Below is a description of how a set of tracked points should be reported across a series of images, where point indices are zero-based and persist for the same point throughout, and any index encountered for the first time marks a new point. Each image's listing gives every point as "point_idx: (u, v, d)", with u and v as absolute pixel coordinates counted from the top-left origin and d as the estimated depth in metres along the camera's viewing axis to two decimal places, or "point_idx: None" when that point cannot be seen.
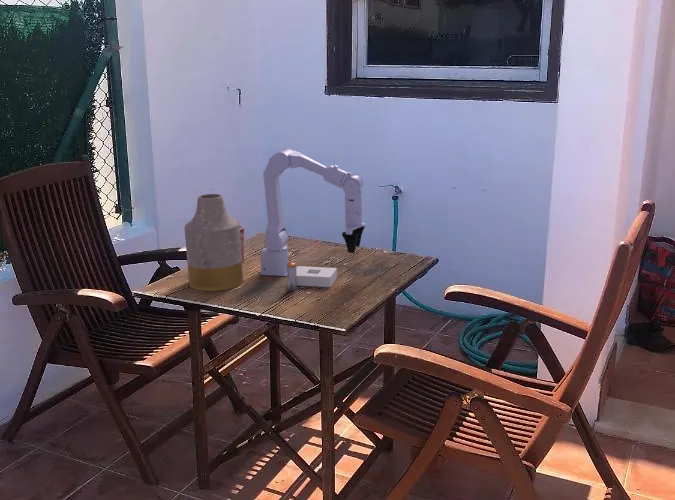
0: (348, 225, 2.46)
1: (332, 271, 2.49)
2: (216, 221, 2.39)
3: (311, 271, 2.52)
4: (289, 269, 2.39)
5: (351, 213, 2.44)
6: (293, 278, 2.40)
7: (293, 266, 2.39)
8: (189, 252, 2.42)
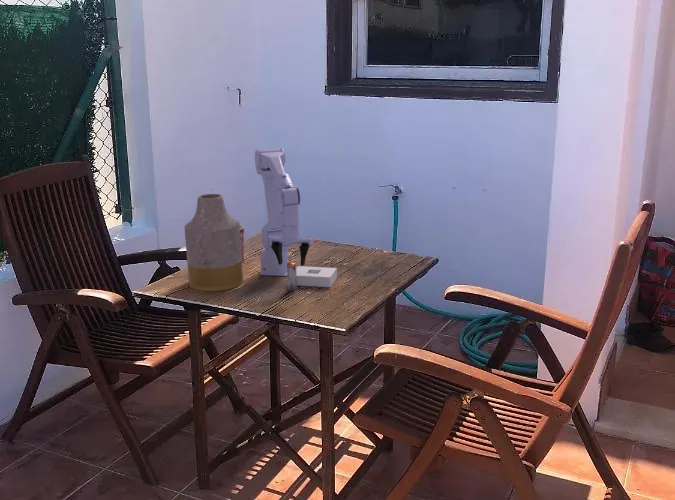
0: None
1: (332, 271, 2.49)
2: (216, 221, 2.39)
3: (311, 271, 2.52)
4: (289, 269, 2.39)
5: None
6: (293, 278, 2.40)
7: (293, 266, 2.39)
8: (189, 252, 2.42)
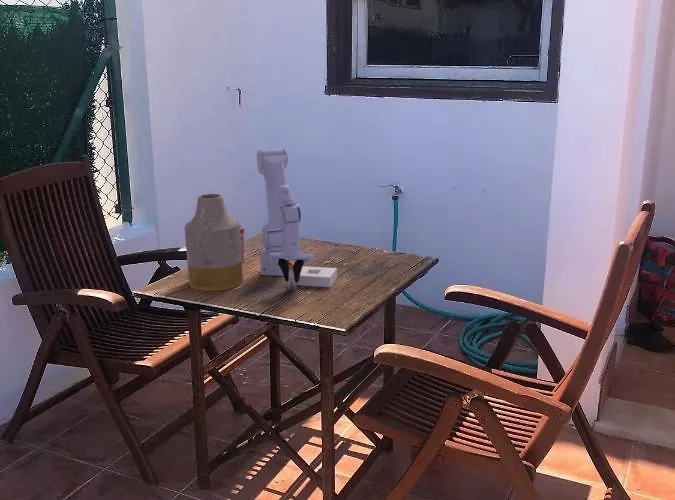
0: None
1: (332, 271, 2.49)
2: (216, 221, 2.39)
3: (311, 271, 2.52)
4: (289, 269, 2.39)
5: None
6: (293, 278, 2.40)
7: (293, 266, 2.39)
8: (189, 252, 2.42)
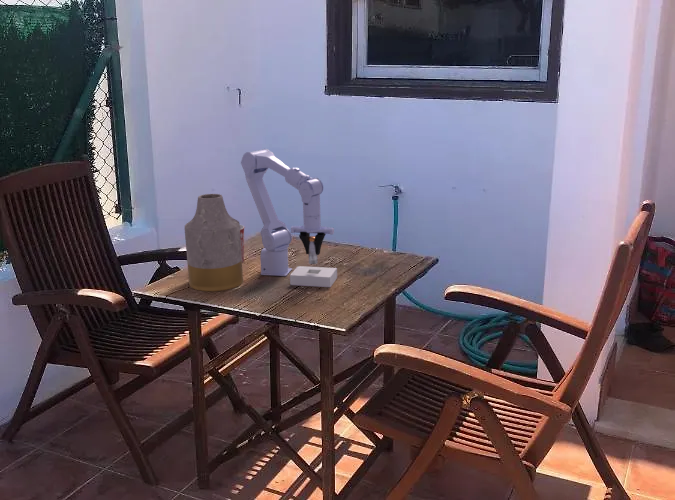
0: None
1: (332, 271, 2.49)
2: (216, 221, 2.39)
3: (311, 271, 2.52)
4: (309, 243, 2.45)
5: None
6: (314, 252, 2.45)
7: (313, 240, 2.44)
8: (189, 252, 2.42)
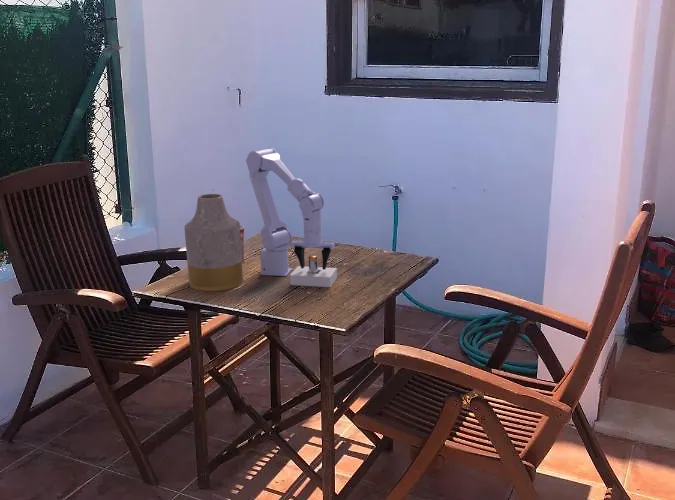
0: None
1: (332, 271, 2.49)
2: (216, 221, 2.39)
3: None
4: (310, 262, 2.47)
5: None
6: (314, 271, 2.47)
7: (314, 259, 2.46)
8: (189, 252, 2.42)
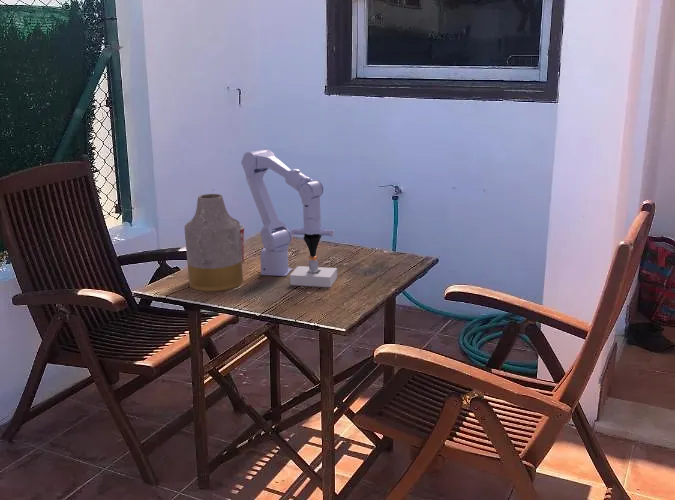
0: None
1: (332, 271, 2.49)
2: (216, 221, 2.39)
3: None
4: (310, 262, 2.47)
5: None
6: (314, 271, 2.47)
7: (314, 259, 2.46)
8: (189, 252, 2.42)
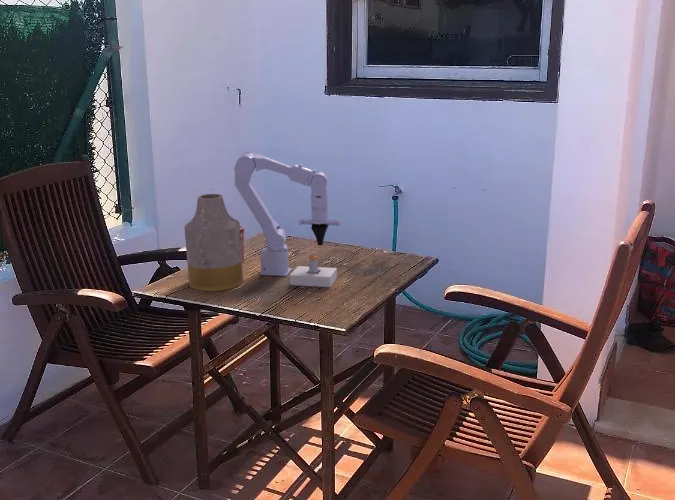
0: None
1: (332, 271, 2.49)
2: (216, 221, 2.39)
3: None
4: (310, 262, 2.47)
5: None
6: (314, 271, 2.47)
7: (314, 259, 2.46)
8: (189, 252, 2.42)
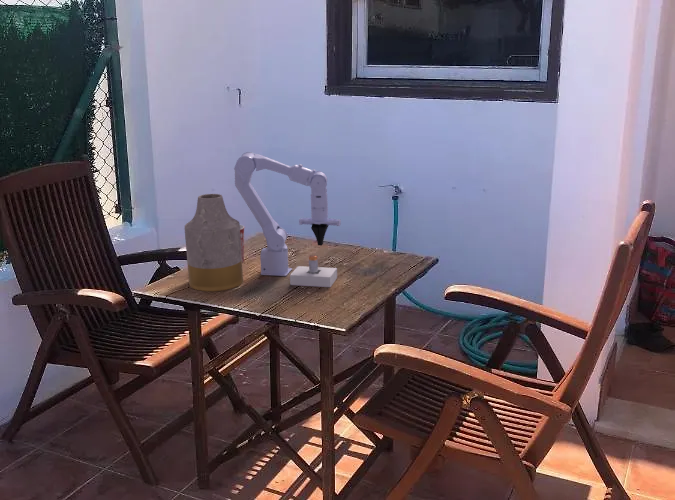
0: None
1: (332, 271, 2.49)
2: (216, 221, 2.39)
3: None
4: (310, 262, 2.47)
5: None
6: (314, 271, 2.47)
7: (314, 259, 2.46)
8: (189, 252, 2.42)
